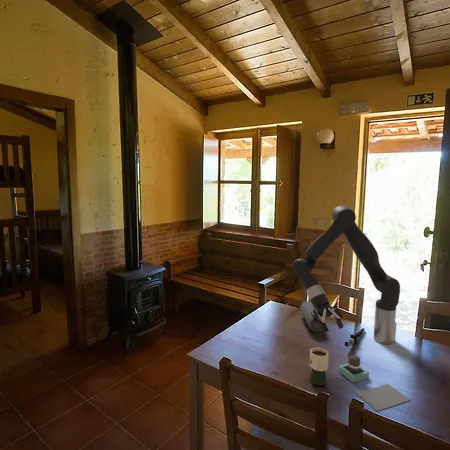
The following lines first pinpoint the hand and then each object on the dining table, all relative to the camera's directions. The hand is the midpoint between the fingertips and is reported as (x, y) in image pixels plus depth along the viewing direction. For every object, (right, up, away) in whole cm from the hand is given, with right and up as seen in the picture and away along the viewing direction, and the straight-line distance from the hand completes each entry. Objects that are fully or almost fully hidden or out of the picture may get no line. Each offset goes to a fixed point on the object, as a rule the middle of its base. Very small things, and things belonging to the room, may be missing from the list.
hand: (334, 330), depth 141 cm
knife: (+18, -12, +20) cm, 29 cm away
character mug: (-11, -17, -13) cm, 24 cm away
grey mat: (+10, -18, -22) cm, 30 cm away
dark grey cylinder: (+5, -16, -8) cm, 19 cm away
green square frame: (+5, -16, -8) cm, 19 cm away
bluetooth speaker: (+1, -10, +39) cm, 40 cm away
